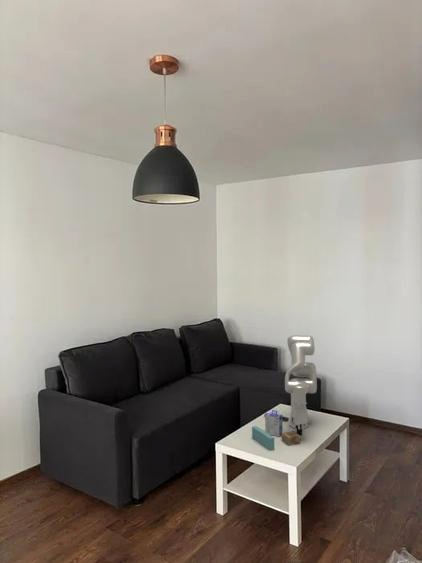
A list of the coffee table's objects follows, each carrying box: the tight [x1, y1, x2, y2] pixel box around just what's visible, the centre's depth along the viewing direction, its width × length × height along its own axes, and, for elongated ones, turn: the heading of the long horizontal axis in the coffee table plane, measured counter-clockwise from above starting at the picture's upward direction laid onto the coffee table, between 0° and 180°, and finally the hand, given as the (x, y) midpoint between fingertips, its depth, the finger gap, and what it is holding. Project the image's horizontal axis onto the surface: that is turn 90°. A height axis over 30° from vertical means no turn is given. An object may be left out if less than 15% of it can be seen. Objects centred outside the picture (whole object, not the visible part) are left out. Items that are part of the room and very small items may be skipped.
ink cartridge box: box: [264, 409, 284, 437], centre depth 267 cm, size 10×6×14 cm, turn 58°
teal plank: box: [251, 425, 275, 451], centre depth 253 cm, size 3×20×7 cm, turn 25°
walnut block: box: [281, 430, 301, 447], centre depth 254 cm, size 8×8×5 cm
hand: (299, 435), depth 257 cm, fingers closed
